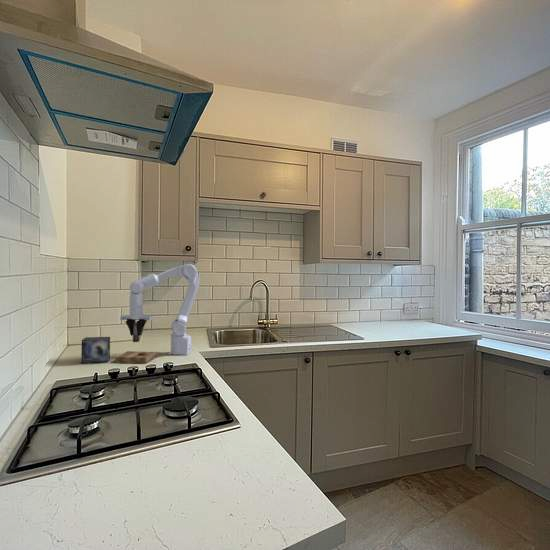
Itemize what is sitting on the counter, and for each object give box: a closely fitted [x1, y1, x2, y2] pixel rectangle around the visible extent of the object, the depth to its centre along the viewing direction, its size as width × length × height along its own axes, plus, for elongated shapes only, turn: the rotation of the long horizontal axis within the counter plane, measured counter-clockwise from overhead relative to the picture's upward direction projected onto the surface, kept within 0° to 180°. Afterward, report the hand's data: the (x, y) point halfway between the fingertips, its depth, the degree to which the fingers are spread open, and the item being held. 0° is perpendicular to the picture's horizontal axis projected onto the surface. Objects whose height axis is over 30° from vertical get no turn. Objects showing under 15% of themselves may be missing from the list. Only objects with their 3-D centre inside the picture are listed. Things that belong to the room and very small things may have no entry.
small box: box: [80, 336, 111, 365], centre depth 153 cm, size 11×6×10 cm, turn 105°
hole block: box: [114, 350, 158, 364], centre depth 157 cm, size 14×11×2 cm
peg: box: [132, 321, 141, 343], centre depth 164 cm, size 3×3×9 cm
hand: (136, 335), depth 164 cm, fingers closed on peg, 3 cm apart
